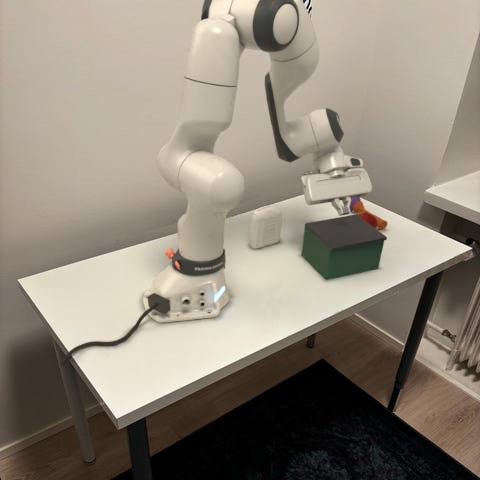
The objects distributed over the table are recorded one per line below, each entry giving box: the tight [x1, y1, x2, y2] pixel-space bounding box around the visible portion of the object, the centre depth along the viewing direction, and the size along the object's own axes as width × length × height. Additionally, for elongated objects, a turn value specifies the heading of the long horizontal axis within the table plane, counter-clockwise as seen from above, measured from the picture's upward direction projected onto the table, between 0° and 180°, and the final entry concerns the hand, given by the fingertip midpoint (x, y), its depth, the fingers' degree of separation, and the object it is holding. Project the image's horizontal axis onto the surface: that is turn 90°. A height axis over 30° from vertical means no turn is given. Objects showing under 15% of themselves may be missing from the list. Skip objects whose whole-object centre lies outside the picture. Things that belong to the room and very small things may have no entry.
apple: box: [356, 212, 377, 229], centre depth 161 cm, size 8×8×8 cm
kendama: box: [342, 197, 388, 231], centre depth 172 cm, size 6×6×20 cm
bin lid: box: [304, 213, 388, 251], centre depth 143 cm, size 15×18×1 cm
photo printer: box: [249, 204, 283, 249], centre depth 153 cm, size 10×4×12 cm, turn 123°
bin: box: [300, 226, 385, 281], centre depth 146 cm, size 15×18×10 cm
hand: (344, 214), depth 141 cm, fingers closed
